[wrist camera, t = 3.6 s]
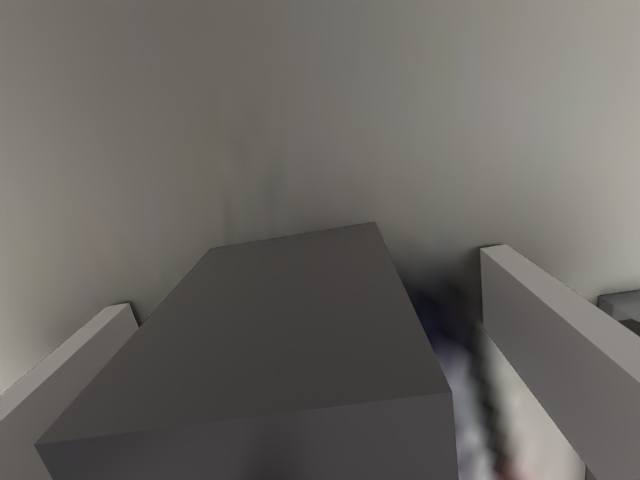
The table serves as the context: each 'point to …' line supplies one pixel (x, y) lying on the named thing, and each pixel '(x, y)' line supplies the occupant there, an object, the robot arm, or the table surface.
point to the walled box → (619, 317)
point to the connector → (269, 375)
